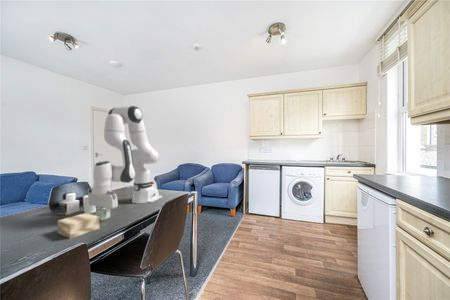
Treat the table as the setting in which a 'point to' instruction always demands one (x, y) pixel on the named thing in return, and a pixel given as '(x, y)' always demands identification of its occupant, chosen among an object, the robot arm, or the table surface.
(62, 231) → the beech block
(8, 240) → the table surface
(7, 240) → the table surface
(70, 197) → the medicine bottle
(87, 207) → the white cup
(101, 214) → the sage cube
